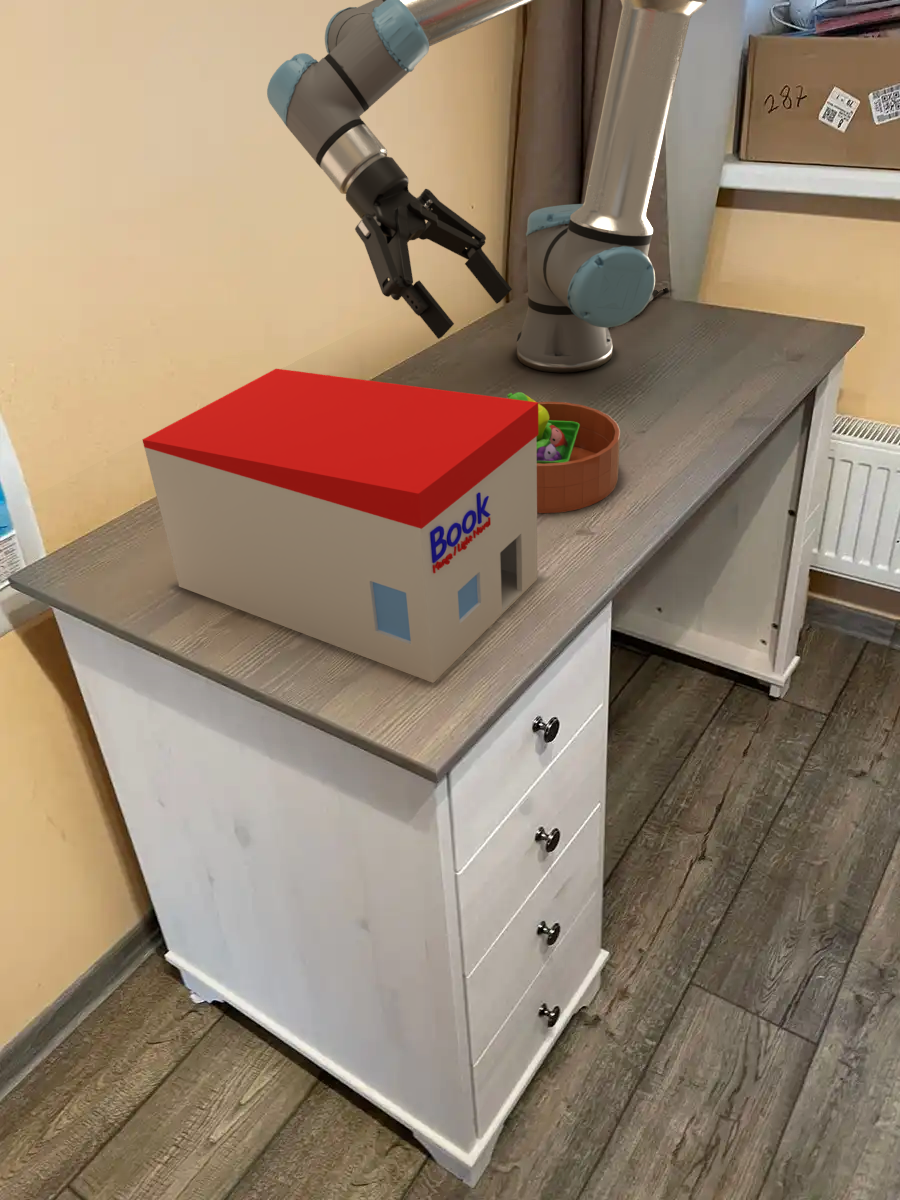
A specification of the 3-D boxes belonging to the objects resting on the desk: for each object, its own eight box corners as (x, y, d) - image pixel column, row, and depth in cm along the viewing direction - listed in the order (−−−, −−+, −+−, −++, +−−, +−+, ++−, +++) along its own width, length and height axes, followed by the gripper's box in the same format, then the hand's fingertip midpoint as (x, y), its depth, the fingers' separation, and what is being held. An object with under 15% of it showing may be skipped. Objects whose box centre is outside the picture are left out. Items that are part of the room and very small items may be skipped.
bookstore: (436, 684, 98) (421, 494, 86) (179, 586, 115) (136, 416, 103) (541, 579, 112) (540, 402, 100) (298, 505, 129) (272, 346, 117)
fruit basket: (568, 499, 125) (569, 414, 119) (497, 494, 127) (494, 410, 121) (579, 457, 134) (581, 376, 128) (513, 453, 136) (511, 373, 130)
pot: (560, 434, 141) (560, 390, 138) (647, 484, 128) (650, 437, 125) (449, 471, 134) (446, 426, 130) (529, 528, 121) (528, 480, 117)
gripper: (408, 174, 136) (509, 300, 137) (286, 222, 119) (402, 365, 120) (439, 133, 130) (543, 265, 131) (316, 177, 113) (437, 328, 115)
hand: (476, 313), depth 126 cm, fingers open, 13 cm apart
